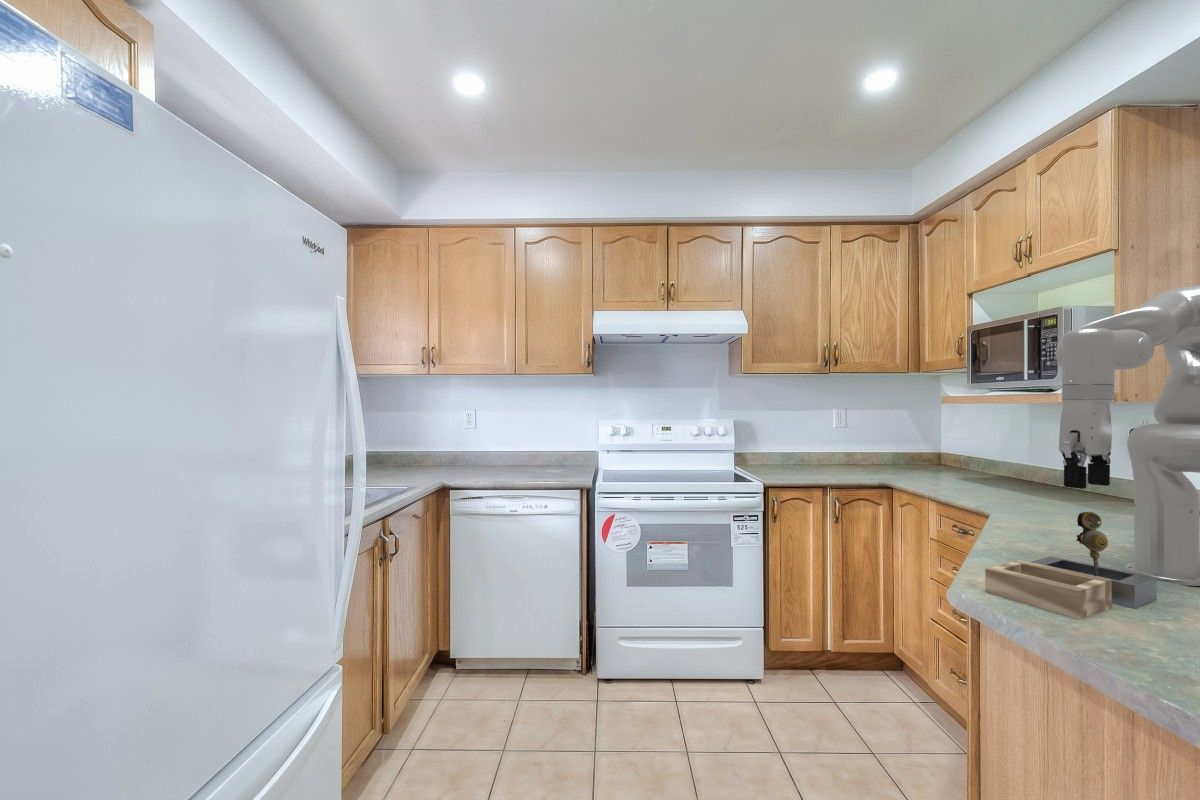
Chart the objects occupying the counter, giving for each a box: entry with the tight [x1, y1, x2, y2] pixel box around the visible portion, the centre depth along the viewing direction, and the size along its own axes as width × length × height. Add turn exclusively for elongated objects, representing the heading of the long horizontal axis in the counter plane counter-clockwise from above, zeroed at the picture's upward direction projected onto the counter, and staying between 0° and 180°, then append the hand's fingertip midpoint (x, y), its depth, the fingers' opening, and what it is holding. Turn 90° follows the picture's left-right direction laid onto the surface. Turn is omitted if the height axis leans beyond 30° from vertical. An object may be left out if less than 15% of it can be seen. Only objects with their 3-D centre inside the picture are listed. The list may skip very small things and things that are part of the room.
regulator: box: [1076, 511, 1109, 576], centre depth 106 cm, size 8×4×15 cm, turn 168°
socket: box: [984, 559, 1113, 620], centre depth 100 cm, size 12×14×5 cm
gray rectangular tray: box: [1030, 555, 1157, 610], centre depth 106 cm, size 9×16×4 cm, turn 29°
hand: (1087, 486), depth 106 cm, fingers open, 9 cm apart
